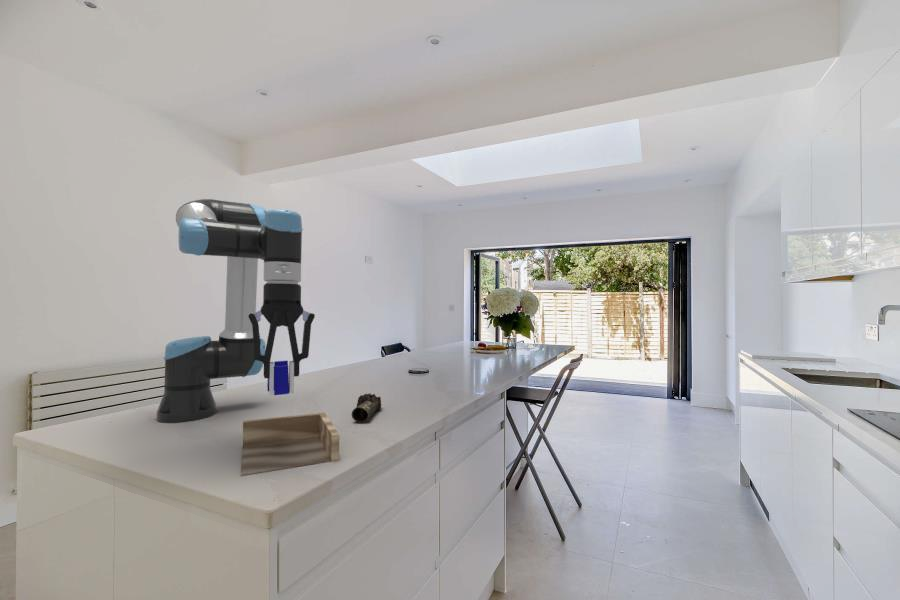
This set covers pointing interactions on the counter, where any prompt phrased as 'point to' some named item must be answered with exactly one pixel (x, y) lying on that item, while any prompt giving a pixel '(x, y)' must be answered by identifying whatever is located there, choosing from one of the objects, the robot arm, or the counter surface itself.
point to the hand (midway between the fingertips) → (281, 392)
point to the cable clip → (280, 378)
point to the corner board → (288, 443)
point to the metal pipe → (366, 407)
